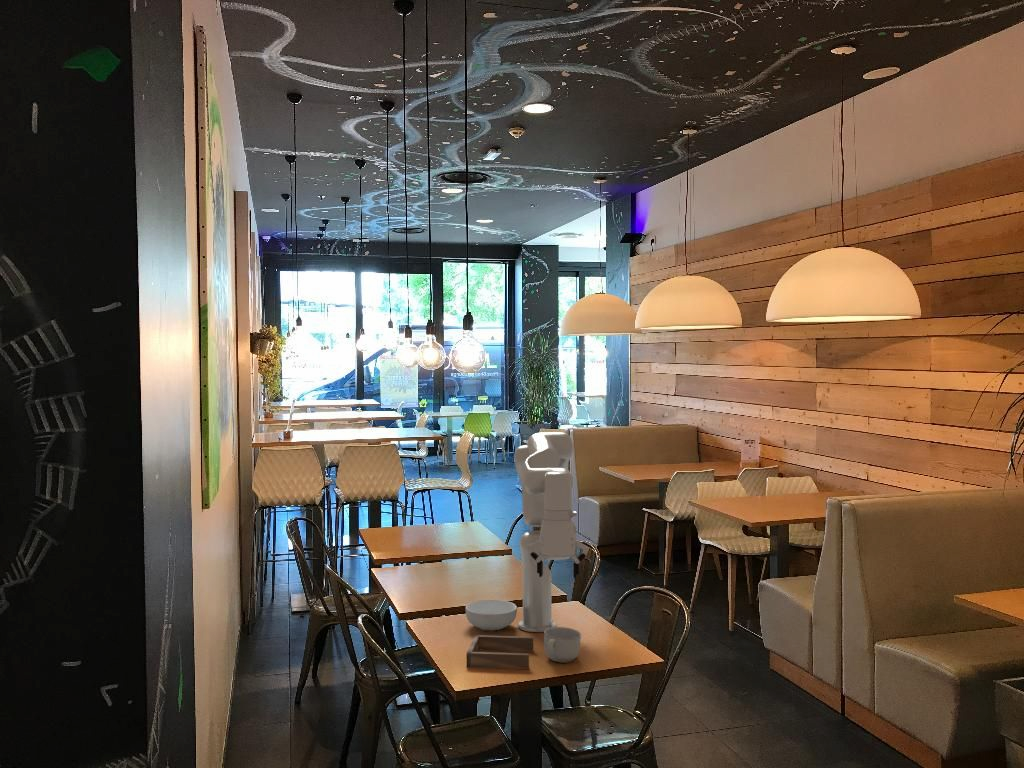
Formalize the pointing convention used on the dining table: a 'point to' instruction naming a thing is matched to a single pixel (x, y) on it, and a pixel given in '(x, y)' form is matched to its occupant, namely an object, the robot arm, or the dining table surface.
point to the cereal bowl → (491, 614)
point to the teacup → (561, 643)
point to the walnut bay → (499, 659)
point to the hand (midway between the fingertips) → (558, 576)
